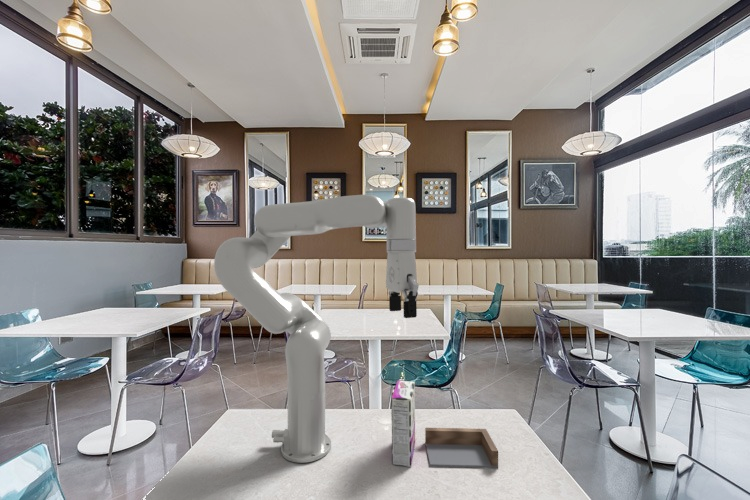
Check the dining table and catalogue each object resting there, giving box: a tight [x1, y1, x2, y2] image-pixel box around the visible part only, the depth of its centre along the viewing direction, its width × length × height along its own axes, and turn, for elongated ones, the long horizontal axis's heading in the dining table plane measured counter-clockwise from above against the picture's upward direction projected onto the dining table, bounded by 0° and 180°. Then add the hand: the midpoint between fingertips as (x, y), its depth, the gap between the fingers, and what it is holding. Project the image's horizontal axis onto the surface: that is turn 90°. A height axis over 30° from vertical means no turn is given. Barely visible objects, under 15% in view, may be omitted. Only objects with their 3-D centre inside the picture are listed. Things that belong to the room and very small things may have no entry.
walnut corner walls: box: [424, 427, 499, 467], centre depth 86 cm, size 16×10×4 cm, turn 88°
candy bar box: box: [390, 379, 416, 468], centre depth 86 cm, size 11×5×16 cm, turn 168°
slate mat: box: [425, 444, 499, 469], centre depth 86 cm, size 16×10×1 cm, turn 88°
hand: (402, 314), depth 87 cm, fingers open, 9 cm apart
